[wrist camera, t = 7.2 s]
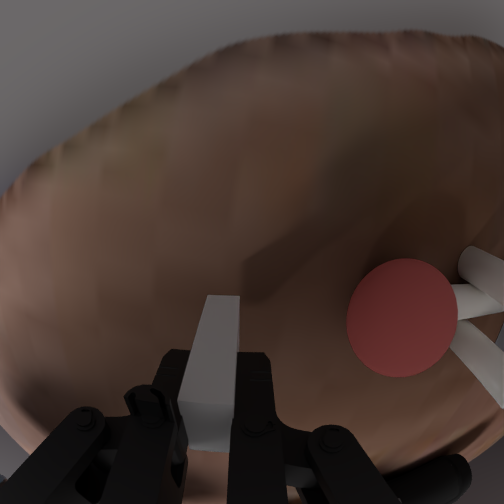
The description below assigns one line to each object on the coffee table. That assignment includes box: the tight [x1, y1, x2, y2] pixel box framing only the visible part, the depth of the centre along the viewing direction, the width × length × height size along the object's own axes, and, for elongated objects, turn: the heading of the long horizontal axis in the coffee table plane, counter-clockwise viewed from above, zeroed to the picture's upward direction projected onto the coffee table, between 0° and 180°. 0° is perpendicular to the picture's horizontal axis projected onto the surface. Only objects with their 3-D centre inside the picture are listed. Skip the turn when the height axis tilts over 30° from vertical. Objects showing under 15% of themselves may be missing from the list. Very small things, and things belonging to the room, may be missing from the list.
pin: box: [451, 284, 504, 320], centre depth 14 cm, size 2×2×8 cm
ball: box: [346, 258, 458, 377], centre depth 12 cm, size 6×6×6 cm
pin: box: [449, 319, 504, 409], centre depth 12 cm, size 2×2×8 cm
